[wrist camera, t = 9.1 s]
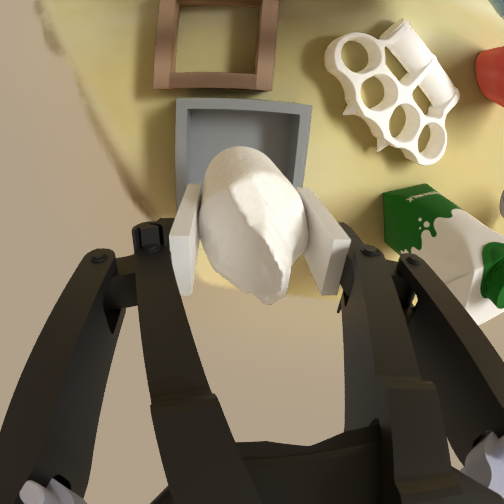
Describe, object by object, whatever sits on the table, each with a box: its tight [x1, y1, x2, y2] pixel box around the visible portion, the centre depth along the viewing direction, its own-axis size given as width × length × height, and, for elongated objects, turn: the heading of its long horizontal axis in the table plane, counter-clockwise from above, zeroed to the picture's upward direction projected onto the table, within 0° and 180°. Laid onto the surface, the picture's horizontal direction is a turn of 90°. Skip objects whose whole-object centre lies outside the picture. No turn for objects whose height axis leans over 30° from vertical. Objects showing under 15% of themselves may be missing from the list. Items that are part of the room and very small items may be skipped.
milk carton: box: [383, 184, 504, 325], centre depth 27 cm, size 9×9×20 cm
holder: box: [153, 0, 279, 91], centre depth 23 cm, size 11×11×3 cm
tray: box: [175, 98, 312, 214], centre depth 28 cm, size 12×12×4 cm
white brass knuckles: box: [324, 19, 460, 166], centre depth 26 cm, size 3×18×15 cm
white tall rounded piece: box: [198, 146, 309, 305], centre depth 16 cm, size 6×12×6 cm
